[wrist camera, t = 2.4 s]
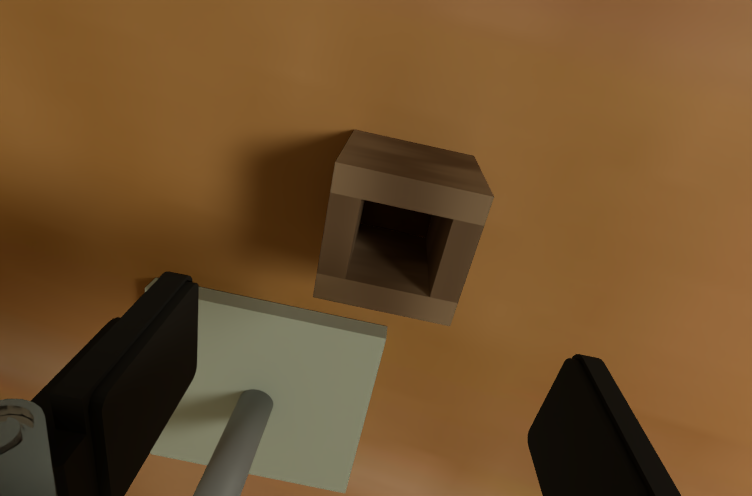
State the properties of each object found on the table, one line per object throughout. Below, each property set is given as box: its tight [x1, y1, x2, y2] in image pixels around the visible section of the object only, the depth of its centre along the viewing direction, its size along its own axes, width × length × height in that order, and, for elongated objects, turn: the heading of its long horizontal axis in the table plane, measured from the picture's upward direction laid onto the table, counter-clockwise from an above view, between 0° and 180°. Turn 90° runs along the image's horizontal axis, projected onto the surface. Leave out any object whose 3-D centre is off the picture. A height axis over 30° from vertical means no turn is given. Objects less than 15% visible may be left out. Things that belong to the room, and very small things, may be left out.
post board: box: [145, 278, 387, 496], centre depth 26 cm, size 14×14×8 cm
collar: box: [313, 130, 494, 326], centre depth 21 cm, size 6×6×6 cm
